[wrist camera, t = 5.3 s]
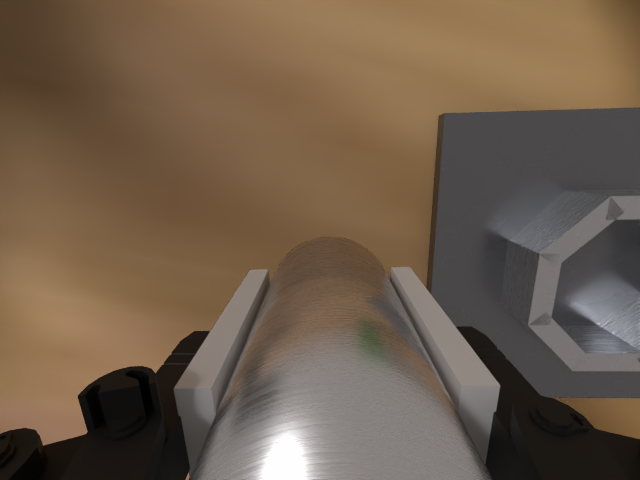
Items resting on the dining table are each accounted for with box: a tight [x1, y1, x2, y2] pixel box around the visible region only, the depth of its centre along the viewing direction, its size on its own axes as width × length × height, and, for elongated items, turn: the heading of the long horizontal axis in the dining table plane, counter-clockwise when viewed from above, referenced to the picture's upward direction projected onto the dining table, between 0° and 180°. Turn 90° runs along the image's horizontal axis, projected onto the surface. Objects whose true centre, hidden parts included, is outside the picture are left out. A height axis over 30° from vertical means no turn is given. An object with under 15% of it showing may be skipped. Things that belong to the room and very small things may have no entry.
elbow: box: [189, 237, 493, 480], centre depth 9 cm, size 8×5×10 cm, turn 1°
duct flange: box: [427, 108, 640, 398], centre depth 15 cm, size 16×16×3 cm
